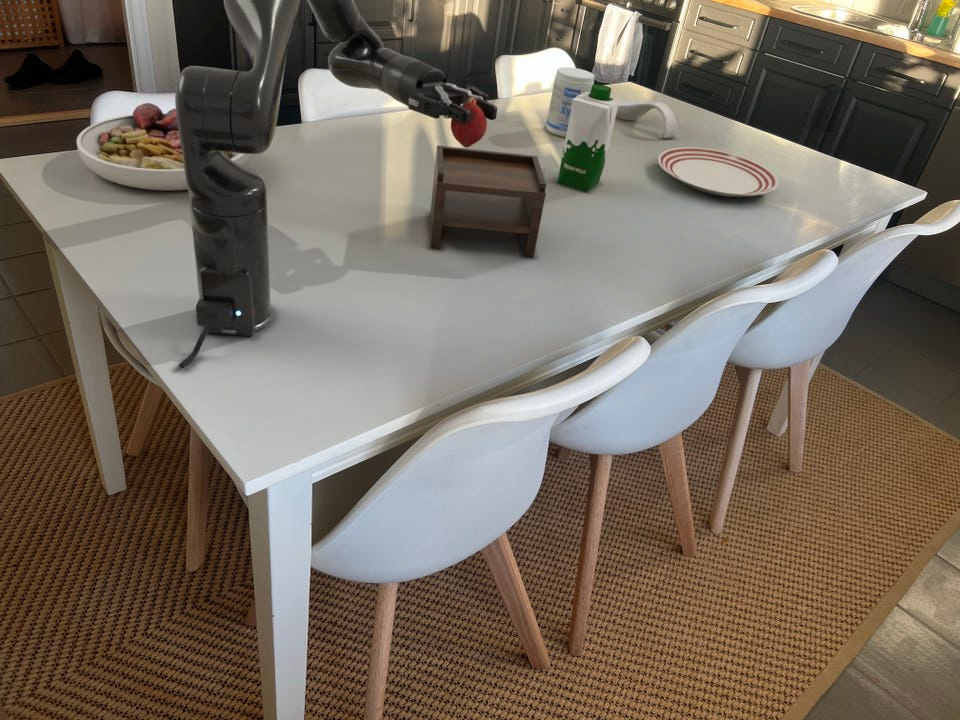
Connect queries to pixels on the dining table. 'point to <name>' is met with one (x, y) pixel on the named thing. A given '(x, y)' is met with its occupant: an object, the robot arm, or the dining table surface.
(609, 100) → the milk carton
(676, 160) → the dinner plate
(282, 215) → the dining table surface
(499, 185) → the shelf stand
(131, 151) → the bowl
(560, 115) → the supplement tub
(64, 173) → the dining table surface
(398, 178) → the dining table surface
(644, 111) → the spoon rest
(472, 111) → the onion
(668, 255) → the dining table surface
